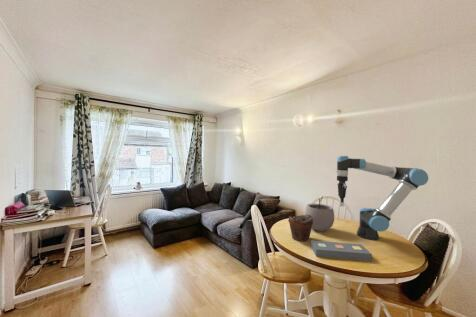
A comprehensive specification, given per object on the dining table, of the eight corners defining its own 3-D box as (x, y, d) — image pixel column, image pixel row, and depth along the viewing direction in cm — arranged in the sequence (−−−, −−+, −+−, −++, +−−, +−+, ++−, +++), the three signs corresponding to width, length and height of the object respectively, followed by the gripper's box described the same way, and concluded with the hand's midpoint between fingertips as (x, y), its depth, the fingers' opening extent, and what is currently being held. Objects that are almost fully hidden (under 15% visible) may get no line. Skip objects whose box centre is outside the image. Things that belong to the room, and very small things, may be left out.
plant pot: (304, 232, 171) (305, 197, 170) (304, 223, 193) (305, 192, 193) (335, 236, 163) (336, 199, 163) (332, 227, 186) (333, 194, 186)
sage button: (324, 248, 138) (324, 243, 138) (326, 252, 133) (326, 246, 133) (317, 248, 139) (317, 243, 139) (319, 251, 134) (319, 246, 134)
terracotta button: (341, 250, 136) (341, 245, 136) (344, 253, 132) (344, 248, 132) (334, 249, 137) (334, 244, 137) (336, 253, 132) (336, 247, 132)
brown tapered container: (283, 238, 158) (283, 215, 157) (296, 231, 172) (296, 210, 171) (304, 245, 145) (305, 220, 145) (316, 238, 159) (317, 215, 159)
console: (360, 250, 139) (361, 244, 139) (371, 261, 125) (371, 253, 125) (311, 246, 144) (311, 240, 144) (315, 256, 130) (316, 249, 130)
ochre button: (359, 251, 135) (359, 246, 135) (362, 255, 130) (362, 249, 130) (351, 251, 136) (351, 245, 136) (354, 254, 131) (354, 249, 131)
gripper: (334, 174, 163) (333, 203, 164) (340, 176, 150) (339, 207, 151) (344, 175, 162) (343, 204, 163) (350, 176, 149) (350, 208, 150)
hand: (341, 206), depth 157 cm, fingers closed
